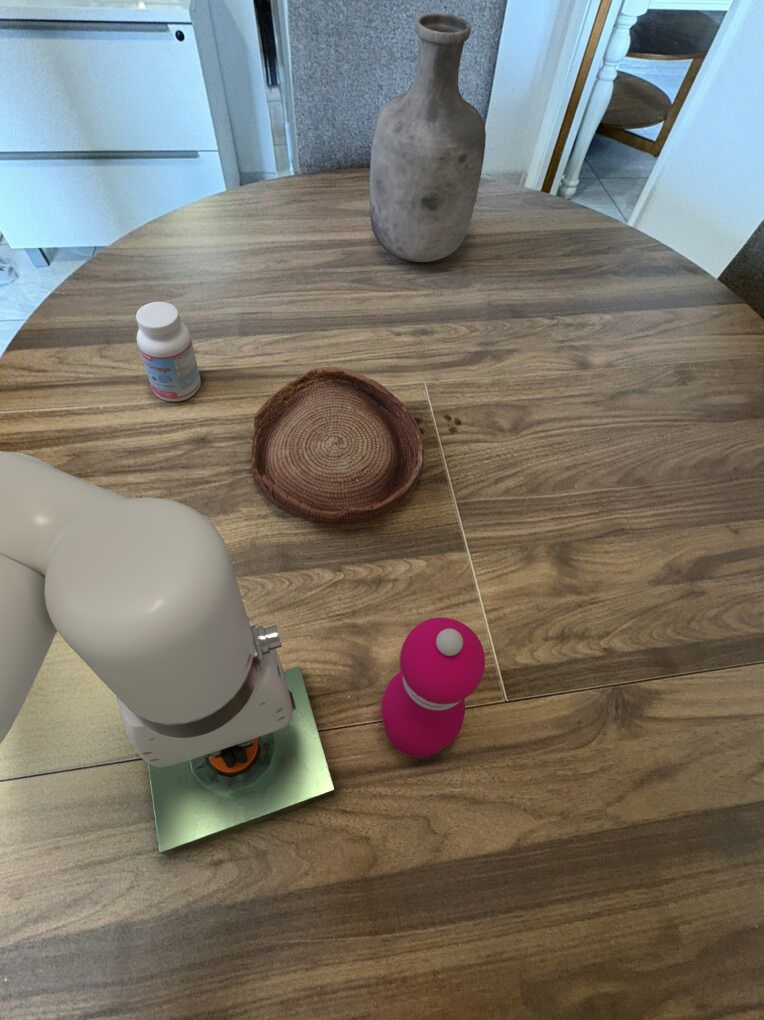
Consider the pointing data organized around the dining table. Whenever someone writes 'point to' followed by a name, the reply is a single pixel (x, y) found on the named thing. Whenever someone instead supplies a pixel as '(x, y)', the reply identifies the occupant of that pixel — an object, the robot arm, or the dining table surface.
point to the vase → (427, 151)
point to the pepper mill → (432, 686)
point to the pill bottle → (167, 352)
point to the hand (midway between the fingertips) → (234, 746)
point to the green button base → (243, 783)
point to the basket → (335, 448)
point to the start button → (239, 767)
